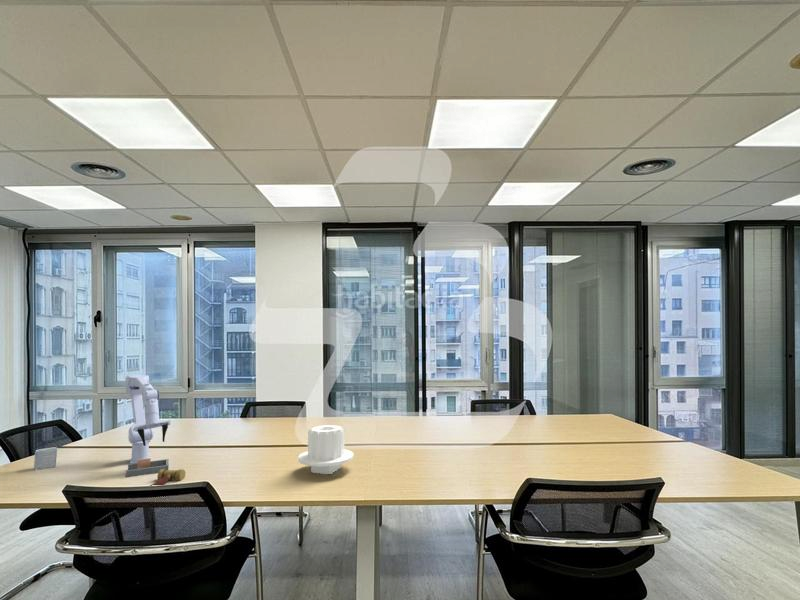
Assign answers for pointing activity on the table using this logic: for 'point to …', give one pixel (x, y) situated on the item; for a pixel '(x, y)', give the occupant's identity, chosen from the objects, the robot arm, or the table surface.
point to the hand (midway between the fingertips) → (154, 443)
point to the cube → (143, 463)
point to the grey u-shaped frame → (147, 470)
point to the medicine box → (45, 458)
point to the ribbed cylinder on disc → (325, 449)
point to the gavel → (169, 476)
